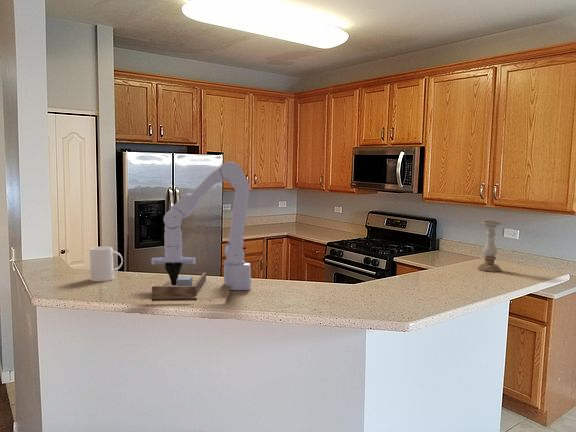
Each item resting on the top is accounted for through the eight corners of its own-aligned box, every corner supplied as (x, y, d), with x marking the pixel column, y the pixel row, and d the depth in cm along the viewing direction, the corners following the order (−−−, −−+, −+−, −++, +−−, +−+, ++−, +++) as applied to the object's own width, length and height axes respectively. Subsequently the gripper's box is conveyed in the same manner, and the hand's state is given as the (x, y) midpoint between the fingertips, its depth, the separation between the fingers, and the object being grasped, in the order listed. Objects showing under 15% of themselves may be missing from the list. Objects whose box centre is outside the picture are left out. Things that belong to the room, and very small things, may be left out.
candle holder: (504, 272, 184) (507, 222, 183) (483, 272, 185) (485, 222, 183) (495, 267, 193) (497, 220, 191) (474, 267, 193) (476, 220, 191)
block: (192, 285, 157) (192, 276, 157) (190, 288, 153) (189, 279, 152) (179, 285, 157) (179, 276, 157) (176, 288, 152) (176, 279, 152)
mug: (125, 275, 178) (124, 245, 177) (120, 280, 169) (119, 249, 168) (93, 276, 176) (92, 246, 175) (87, 282, 167) (86, 250, 166)
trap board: (206, 284, 164) (205, 272, 163) (196, 300, 143) (195, 286, 143) (167, 284, 163) (167, 272, 163) (152, 300, 143) (151, 286, 142)
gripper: (196, 243, 157) (197, 281, 159) (154, 243, 157) (156, 281, 158) (193, 246, 150) (193, 286, 152) (149, 246, 150) (150, 287, 151)
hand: (174, 284), depth 155 cm, fingers closed
